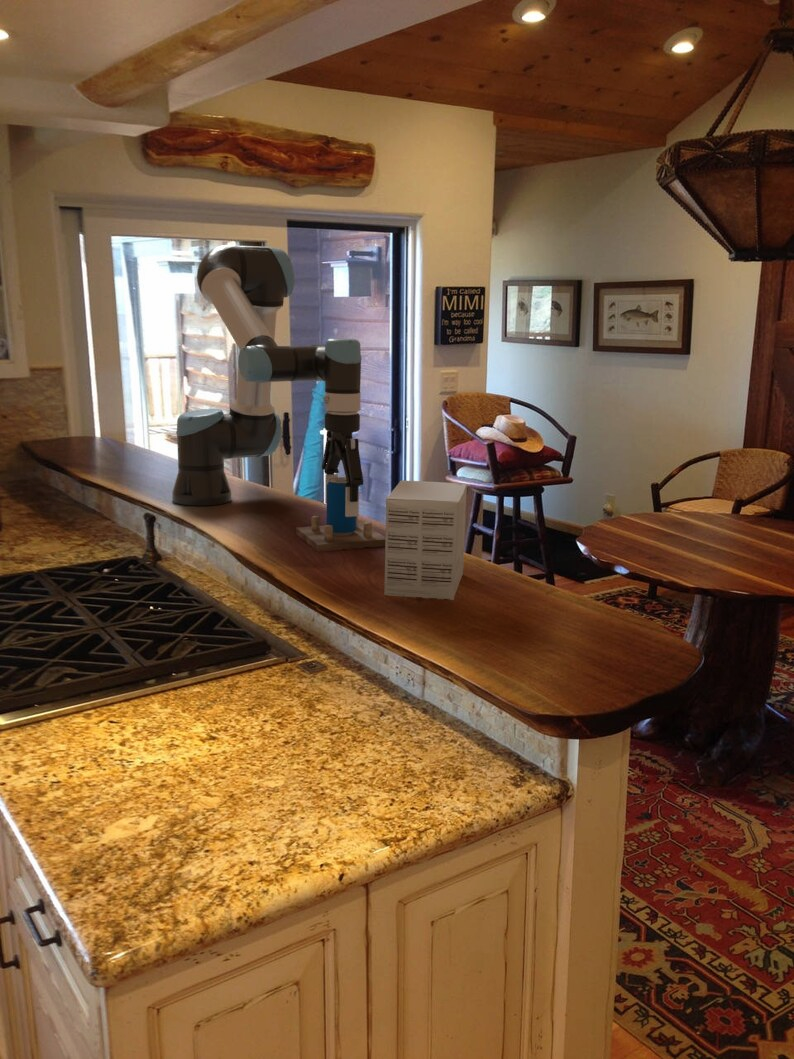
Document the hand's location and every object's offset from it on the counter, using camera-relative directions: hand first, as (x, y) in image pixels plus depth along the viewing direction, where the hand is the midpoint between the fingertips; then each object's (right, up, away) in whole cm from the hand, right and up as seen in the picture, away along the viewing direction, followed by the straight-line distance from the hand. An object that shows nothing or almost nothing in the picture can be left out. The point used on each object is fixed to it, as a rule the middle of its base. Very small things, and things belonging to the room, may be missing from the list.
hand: (341, 509), depth 199 cm
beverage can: (0, -5, +1) cm, 6 cm away
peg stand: (0, -7, +2) cm, 7 cm away
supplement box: (+17, -15, -29) cm, 37 cm away
